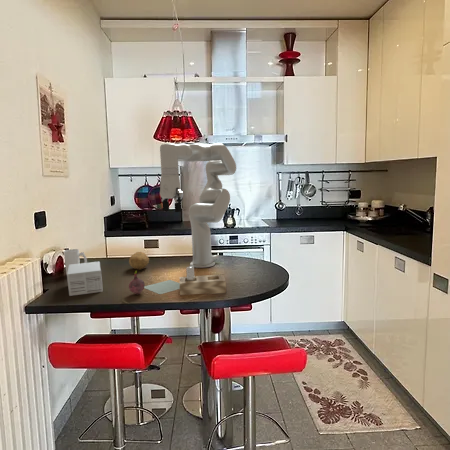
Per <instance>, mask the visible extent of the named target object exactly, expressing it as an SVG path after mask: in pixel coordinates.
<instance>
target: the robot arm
mask: <svg viewBox="0 0 450 450" xmlns="http://www.w3.org/2000/svg"><path fill="white" fill-rule="evenodd" d="M159 154H160V156H159V157H160V171H161V174H160V175H161V176H160V183H159V184H160V185H159V186H160V187H159V188H160V190H159V195H160V196H159V197H160V199H161V203H162V205H161V207H162V211H163V212H166V211H170V202H169V199H171V200H172V199H173V201H174V213H180V212H182V211H183V210H182V202H183V198H184V191H182V190H181V181H180V176H179V175H180V174H179V162H191V163H193V162H206V164H205V174H206V180H207V182H206V184H205V186H204V187H203V190H202V191H201V193H200V196H199V199H198V201H199V203H194V204H191V205H190V206H189V208H188V217H189V221H190V226H191V227H190V229H191V244H192V245H191V246H192V248H191V250H192V261H191V262H190V263H189V266H193V267H194V269H195V268H196V269H200V268H201V269H203V268H209V267H213V266H215V264H216V262H215V261H214V260H217V259H220V256H219V255H218V254H215V255H213V254H212V240H211V239H212V237H211V235H212V234H211V229H210V228H211V227H210V226H209V224H211V223H212V224H216V223H217V224H218V223H220V222H221V221H222V220H223V218H224V215H225V213H226V211H227V209H228V207H229V205H230V202H231V194H230V191H228V190H227V189H225V188H223V183H222V181H221V180H220V178H219V176H231V175H234V174H236V171H237V164H236V161H235V159H234V157H233V155H232V154H231V152H230V150H229V149H228V147H227V146H226V145H225V144H223V143H210V144H209V143H189V144H186V143H178V144H175V143H162V144H161V145H160V147H159ZM208 223H209V224H208Z"/></svg>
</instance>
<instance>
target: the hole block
mask: <svg viewBox="0 0 450 450" xmlns="http://www.w3.org/2000/svg"><path fill="white" fill-rule="evenodd" d="M194 279H195V281H187V276H179V283H180V289H179V295H180V296H187V295H189V296H190V295H198V294H199V295H201V294H207V295H212V294H213V295H215V294H226V293H227V281H226V278H225V275H224V274H221V273H220V274H209V275H196V276H195V275H194Z"/></svg>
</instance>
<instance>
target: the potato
mask: <svg viewBox="0 0 450 450" xmlns="http://www.w3.org/2000/svg"><path fill="white" fill-rule="evenodd" d="M149 263H150V258H149V257H148V255H147V254H146V253H145V252H142V251H136V252H135V253H134V254H131V256H130V257H129V259H128V264H129V266H130V267H132V268H133V269H135V270H137V271H139V270H140V271H141V270H142V269H145V268H146V267H147V266H148V264H149Z"/></svg>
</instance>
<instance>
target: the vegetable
mask: <svg viewBox="0 0 450 450" xmlns="http://www.w3.org/2000/svg"><path fill="white" fill-rule="evenodd" d="M137 274H138V270H135V271H134V273H133V279H131V281H130V282H129V283H128V289H129V291H130V292H131V293H133V294H135V295H141V293H142V292H143V290H144V289H145V288H144V287H145V286H146V285H145V282H144V280H143V279H141V278H139V277H138V275H137Z"/></svg>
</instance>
